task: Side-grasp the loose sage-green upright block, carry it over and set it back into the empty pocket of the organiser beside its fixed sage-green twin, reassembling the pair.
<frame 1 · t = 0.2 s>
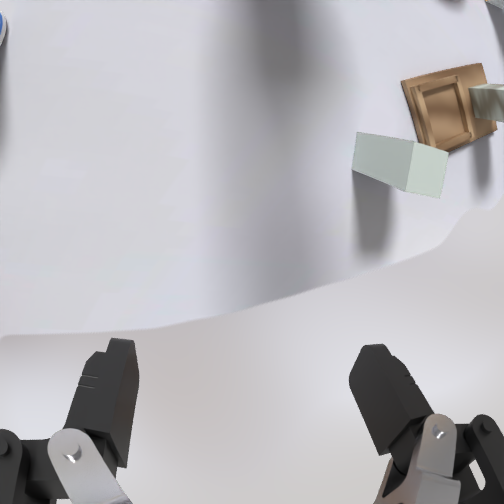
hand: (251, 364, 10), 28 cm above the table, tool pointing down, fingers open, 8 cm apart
organiser: (456, 106, 35), on the table
sage block: (370, 153, 37), on the table
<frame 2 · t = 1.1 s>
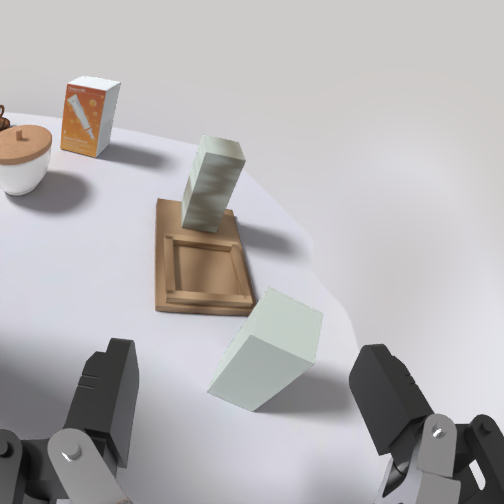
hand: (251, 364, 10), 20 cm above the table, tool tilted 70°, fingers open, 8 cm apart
small box: (84, 147, 49), on the table
lidded jar: (20, 185, 36), on the table
organiser: (198, 250, 41), on the table
sage block: (237, 382, 30), on the table
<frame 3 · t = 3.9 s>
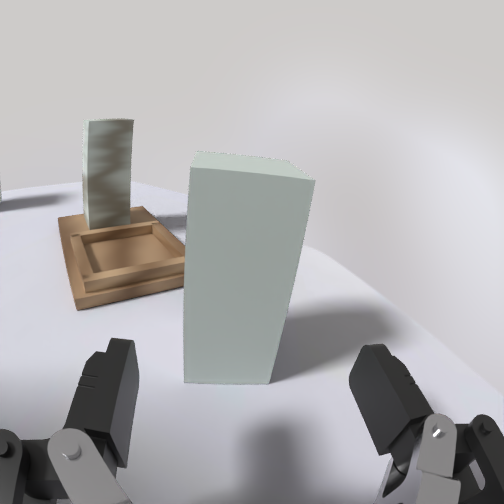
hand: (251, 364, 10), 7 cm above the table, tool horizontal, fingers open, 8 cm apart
organiser: (116, 245, 31), on the table
sage block: (224, 355, 19), on the table
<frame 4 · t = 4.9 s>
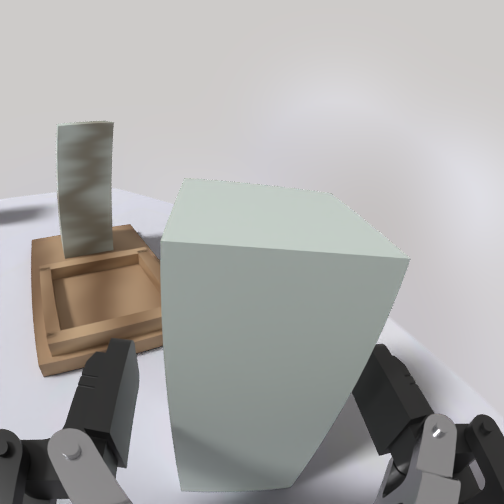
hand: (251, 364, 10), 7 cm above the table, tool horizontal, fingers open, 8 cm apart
organiser: (96, 278, 24), on the table
sage block: (232, 448, 13), on the table
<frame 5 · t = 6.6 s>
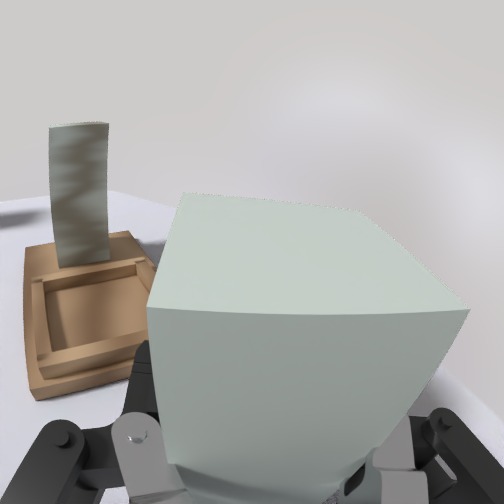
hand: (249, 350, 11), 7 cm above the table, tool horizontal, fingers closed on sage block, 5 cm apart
organiser: (91, 290, 23), on the table
sage block: (238, 482, 11), on the table, touching gripper
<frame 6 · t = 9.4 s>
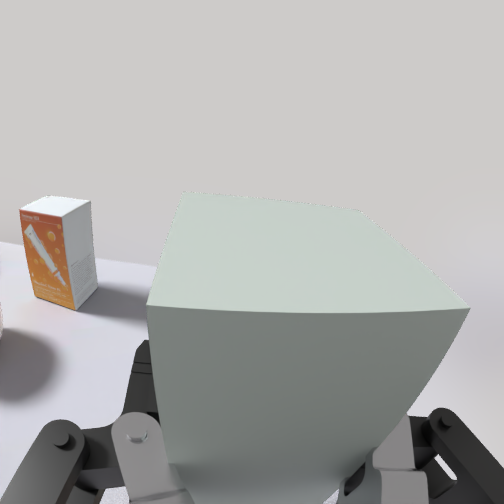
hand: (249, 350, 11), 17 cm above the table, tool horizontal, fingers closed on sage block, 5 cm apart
small box: (66, 293, 37), on the table
sage block: (238, 481, 11), point 10 cm above the table, touching gripper
when the fingers open (9 cm above the table, at t = 11.6 s): sage block drops 1 cm, resting on organiser.
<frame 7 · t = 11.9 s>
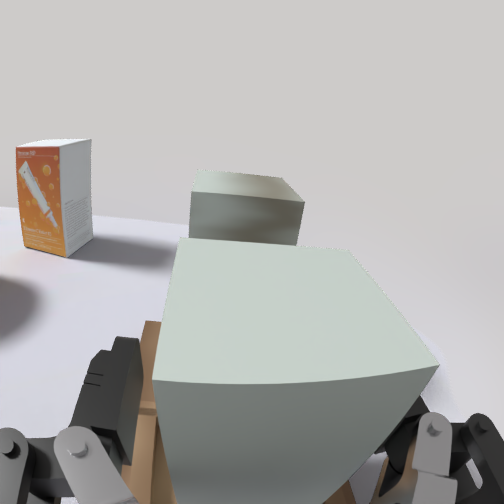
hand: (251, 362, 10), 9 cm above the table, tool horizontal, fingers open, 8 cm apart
small box: (58, 244, 34), on the table
organiser: (227, 430, 16), on the table
sage block: (235, 490, 12), point 1 cm above the table, touching organiser
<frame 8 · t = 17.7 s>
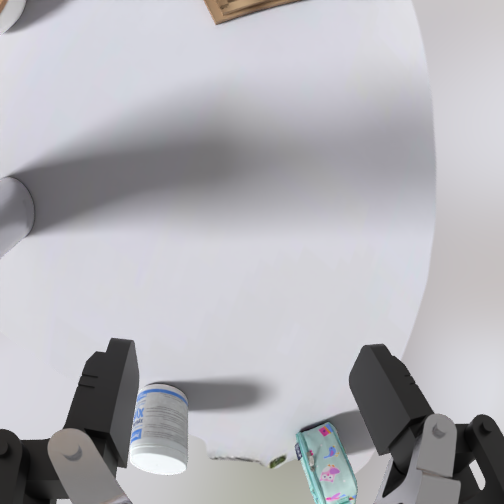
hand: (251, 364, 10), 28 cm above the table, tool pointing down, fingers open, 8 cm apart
lunch box: (317, 440, 65), on the table
lidded jar: (9, 11, 20), on the table
supplement tub: (163, 396, 51), on the table
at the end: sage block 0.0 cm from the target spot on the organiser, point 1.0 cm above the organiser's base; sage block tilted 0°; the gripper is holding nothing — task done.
